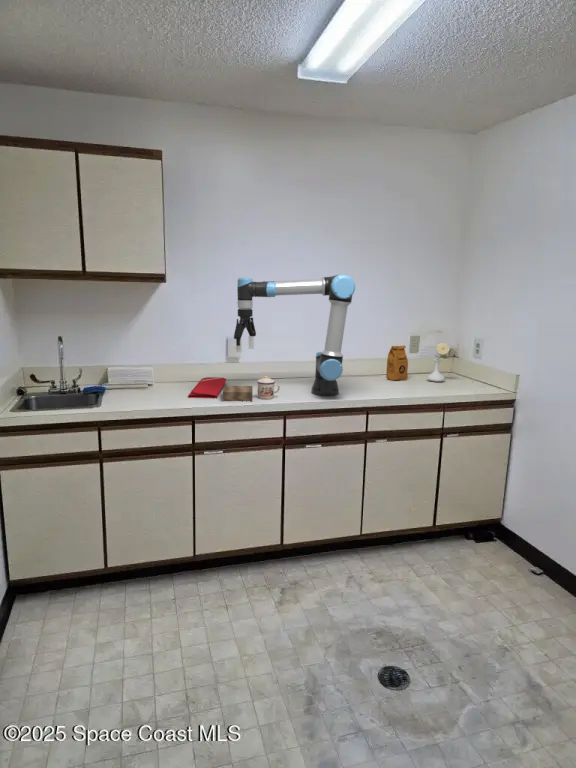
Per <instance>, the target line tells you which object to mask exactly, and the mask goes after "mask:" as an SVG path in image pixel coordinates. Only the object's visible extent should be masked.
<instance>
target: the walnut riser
mask: <svg viewBox="0 0 576 768" xmlns="http://www.w3.org/2000/svg"><path fill="white" fill-rule="evenodd" d="M253 393H254V392H253V385H224V387H223V388H222V402H223V401H242V402H243V401H246V402H247V401H250V403H253ZM242 402H241V403H242ZM246 402H245V403H246ZM243 403H244V402H243ZM247 403H248V402H247Z"/></svg>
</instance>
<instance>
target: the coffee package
mask: <svg viewBox="0 0 576 768" xmlns="http://www.w3.org/2000/svg"><path fill="white" fill-rule="evenodd" d="M405 349H406V345H392V346H391V347H390V349H389V352H388V354H387V359H386V360H387V361H386V372H385V373H386V375H385V376H386V377H385V379H386V378H387V379H386V380H390V379H391V380H390V381H403V380H404V381H406V380H407V378H408V366H409V360H408V356H407V354H406V353H407V352H406V350H405ZM405 379H406V380H405Z"/></svg>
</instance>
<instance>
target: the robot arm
mask: <svg viewBox="0 0 576 768" xmlns="http://www.w3.org/2000/svg"><path fill="white" fill-rule="evenodd" d="M355 291H356V283H355V281H354V279H353V277H351V276H349V275H347V274H336V275H332V276H324V277H322V278H320V279H319V278H318V279H297V280H295V279H293V280H276V281H275V280H273V281H265V280H264V281H253V277H238V278H237V291H236V292H237V302H236V304H237V308H238V309H237V317H239V318H238V319H237V318H236V325H235V330H234V333H233V339H234V340H235V341H236V342H235V343H236V344H235V345H236V346H235V347H236V348H235V350H236V351H235V352H236V353H242V352H243V340H242V337H243V333H244V330H245V329H246V331H247V333H248V335H249V336H248V349H251V350H254V349H255V348H254V347H255V342H254V341H255V337H256V335H257V332H256V328H255V322H254V317H253V316H254V315H253V308H254V307H253V298H275V297H276V296H295V295H296V296H298V295H299V296H301V295H302V296H303V295H319V294H320V295H322V296H325V297H326V296H328V301H329V302H330V308H329V310H330V311H329V314H328V315H329V316H328V322H327V329H326V336H325V342H324V349H323V350H322V351H317V352H316V355H315V374H314V375H315V376H314V381H313V385H312V386H311V394H313V395H316V396H323V397H324V396H325V397H326V396H327V397H329V396H337V395H339V394H340V389H339V385H338V381H337V380H338V379H339V378H340V377H341V376H342V373H343V370H344V367H343V361H344V359H343V358H344V355H343V353H342V346H343V339H344V333H345V327H346V319H347V315H348V313H347V312H348V307H349V305H351V304H352V300H353V296H354V293H355Z"/></svg>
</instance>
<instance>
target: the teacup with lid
mask: <svg viewBox="0 0 576 768" xmlns="http://www.w3.org/2000/svg"><path fill="white" fill-rule="evenodd" d="M275 386H277V390H276V391H275ZM280 389H281V386H280V385H279V384H278V383H275V380H274V379H272V378H270V377H269V376H268V375H264V377H262V378H260V379H258V380H257V399H259V398H260V399H259V400H273V399H274V398H275V394H276V393H278V392H280ZM272 398H273V399H272Z"/></svg>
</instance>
